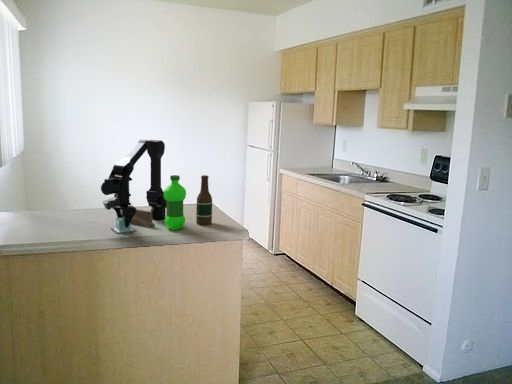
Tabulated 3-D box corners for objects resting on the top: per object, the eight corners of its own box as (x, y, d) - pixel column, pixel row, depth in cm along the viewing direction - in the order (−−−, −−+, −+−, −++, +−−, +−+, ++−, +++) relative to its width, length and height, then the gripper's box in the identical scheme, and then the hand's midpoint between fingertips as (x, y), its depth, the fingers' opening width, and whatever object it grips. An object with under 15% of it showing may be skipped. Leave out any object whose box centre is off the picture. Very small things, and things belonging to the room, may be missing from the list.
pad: (129, 226, 209) (129, 225, 209) (136, 231, 202) (136, 230, 202) (110, 229, 204) (110, 228, 204) (116, 234, 197) (116, 233, 197)
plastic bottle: (161, 226, 212) (161, 174, 207) (183, 224, 216) (183, 173, 211) (166, 232, 203) (165, 178, 198) (188, 230, 207) (188, 177, 202)
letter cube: (126, 227, 206) (126, 216, 205) (130, 229, 202) (130, 219, 201) (115, 228, 204) (115, 217, 203) (119, 231, 199) (119, 220, 198)
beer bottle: (214, 223, 221) (215, 175, 216) (206, 226, 214) (207, 177, 209) (201, 220, 224) (202, 173, 219) (193, 224, 217) (193, 175, 213)
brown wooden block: (131, 220, 219) (131, 207, 218) (154, 225, 213) (154, 211, 212) (124, 223, 215) (124, 209, 213) (147, 227, 209) (147, 213, 207)
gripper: (98, 189, 203) (99, 222, 206) (110, 197, 187) (111, 232, 191) (122, 187, 209) (123, 219, 212) (136, 194, 194) (137, 229, 197)
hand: (123, 224), depth 203 cm, fingers open, 9 cm apart
